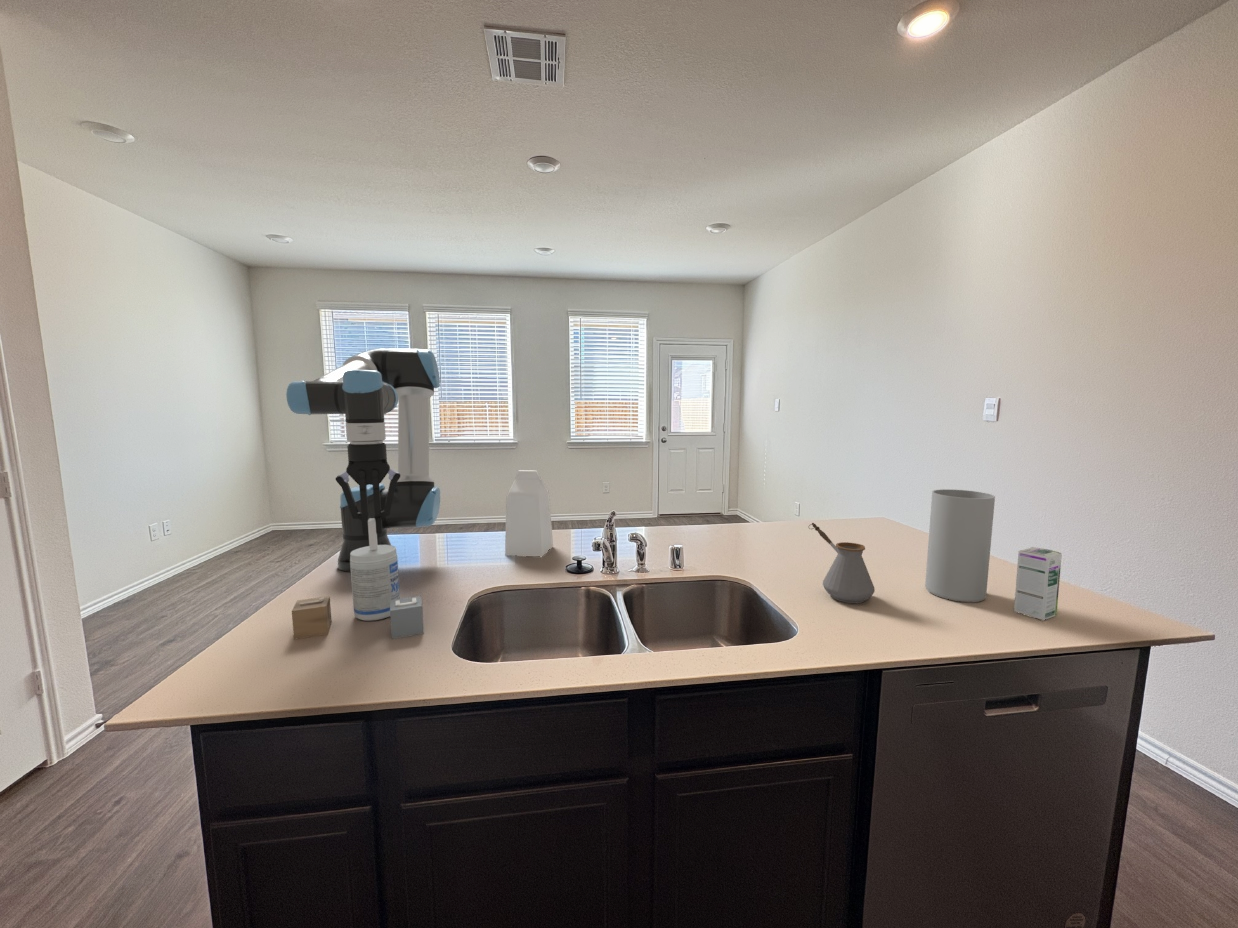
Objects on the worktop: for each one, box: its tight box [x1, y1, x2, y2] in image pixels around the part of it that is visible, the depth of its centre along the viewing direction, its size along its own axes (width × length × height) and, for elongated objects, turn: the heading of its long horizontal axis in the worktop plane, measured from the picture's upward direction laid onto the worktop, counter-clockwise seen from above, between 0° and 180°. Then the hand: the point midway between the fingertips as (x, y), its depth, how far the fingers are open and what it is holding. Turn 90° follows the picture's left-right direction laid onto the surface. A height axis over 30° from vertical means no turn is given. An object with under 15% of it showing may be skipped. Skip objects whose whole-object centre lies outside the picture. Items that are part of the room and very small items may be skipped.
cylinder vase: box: [924, 488, 996, 603], centre depth 122 cm, size 12×12×25 cm
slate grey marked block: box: [389, 595, 425, 640], centre depth 104 cm, size 6×6×6 cm
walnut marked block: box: [291, 595, 333, 640], centre depth 104 cm, size 6×6×6 cm
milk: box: [504, 469, 554, 557], centre depth 159 cm, size 12×12×26 cm
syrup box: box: [1013, 546, 1063, 621], centre depth 110 cm, size 6×6×14 cm
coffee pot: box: [808, 522, 876, 604], centre depth 125 cm, size 21×12×15 cm, turn 13°
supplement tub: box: [350, 544, 401, 621], centre depth 112 cm, size 10×10×15 cm
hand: (373, 548), depth 111 cm, fingers closed
